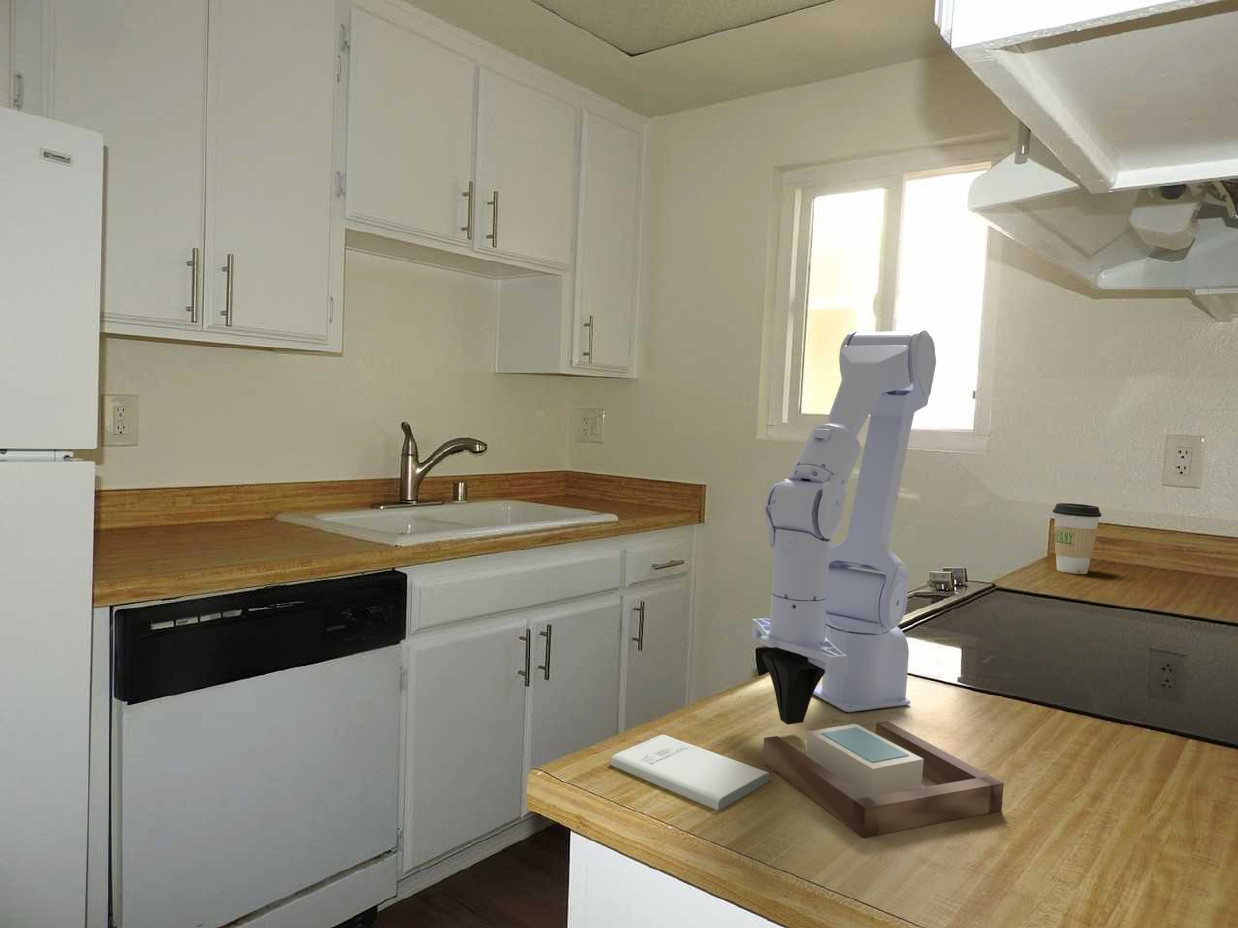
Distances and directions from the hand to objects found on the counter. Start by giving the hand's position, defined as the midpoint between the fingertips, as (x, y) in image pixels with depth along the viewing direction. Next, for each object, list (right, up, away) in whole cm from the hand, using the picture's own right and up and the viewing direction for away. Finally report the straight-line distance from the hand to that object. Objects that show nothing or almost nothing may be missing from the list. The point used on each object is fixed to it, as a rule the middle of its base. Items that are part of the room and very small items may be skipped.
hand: (791, 721), depth 91 cm
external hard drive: (-12, -2, -11) cm, 16 cm away
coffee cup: (+85, +3, +105) cm, 134 cm away
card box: (+5, -3, -10) cm, 11 cm away
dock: (+5, -2, -12) cm, 13 cm away
